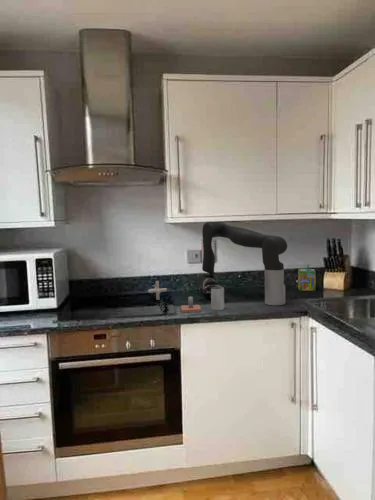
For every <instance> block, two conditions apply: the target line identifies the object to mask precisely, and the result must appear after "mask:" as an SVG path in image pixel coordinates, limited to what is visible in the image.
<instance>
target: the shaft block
mask: <svg viewBox="0 0 375 500" xmlns="http://www.w3.org/2000/svg"><path fill="white" fill-rule="evenodd" d="M187 299H188V300H187V301H188V302H187V304H188V305H184V304H183V305H181V306H180V309H181V313H182V314H183V313H201V312H202V308H201V306H200V304H194V296H188V297H187Z"/></svg>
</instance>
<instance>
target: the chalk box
mask: <svg viewBox="0 0 375 500" xmlns="http://www.w3.org/2000/svg"><path fill="white" fill-rule="evenodd" d="M297 271H298V273H297V288H298V291H300V292H301V291H302V292H304V291H305V292H316V291H317V288H316V287H317V285H316V284H317V281H316V279H317V272H316V269H315V268H310V263H308V264H307V266H306V268H298V270H297Z"/></svg>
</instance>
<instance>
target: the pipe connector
mask: <svg viewBox="0 0 375 500" xmlns="http://www.w3.org/2000/svg"><path fill="white" fill-rule="evenodd" d="M167 291H168V288H167V287H164V288H163V287H162V288H160V280H156V281H155V286H154V288H151V289H150V288H149V289H147V292H148V293H149V294H152V293H155V297H156V300H157V301H158V300H159V301H160V294H161V293H162V292H167Z"/></svg>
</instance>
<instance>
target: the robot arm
mask: <svg viewBox="0 0 375 500" xmlns="http://www.w3.org/2000/svg"><path fill="white" fill-rule="evenodd" d="M201 233H202V249H203V255H202V257H203V258H202V265H201V267H202V269H201V270H202V271H203V272H204V273H207V274H200V275H199V276H198V277H197V284H198V290H199V294H202V293H203V294H205V295H207V294H208V295H211V288H212V287H223V288H224V293H227V290H228V289H227V288H228V287H227V286H226V285H225V284H222V285H218V283H217V281H216V276H215V264H216V255H215V252H214V250H213V247H212V245H213V244H212V242H213V238H219V237H220V238H226V239H229V240H230V242H232V244H234V245H238V246H242V247H243V248H244V247H245V248H253V249H254V248H257V249H261V253H262V257H261V259H262V263H263V266H264V303H265V305H269V306H281V305H286V284H285V276H284V275H285V272H284V271H285V269H284V267H285V266H284V263H283V262H281V261H280V258H279V255H282V254H284V253H285V252H286V251H287V248H288V243H287V241H286V240H285V238H283V237H281V236H276V235H270V234H268V235H267V234H263V233H261V232H258V231H254V230H251V229H247V228H245V227H239V226H235V225H233V226H232V225H230V224H229V225H228V224H226V223H224V222H221V221H219V222H212V221H207V223H206V222H204V224H203V225H202V231H201Z"/></svg>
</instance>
